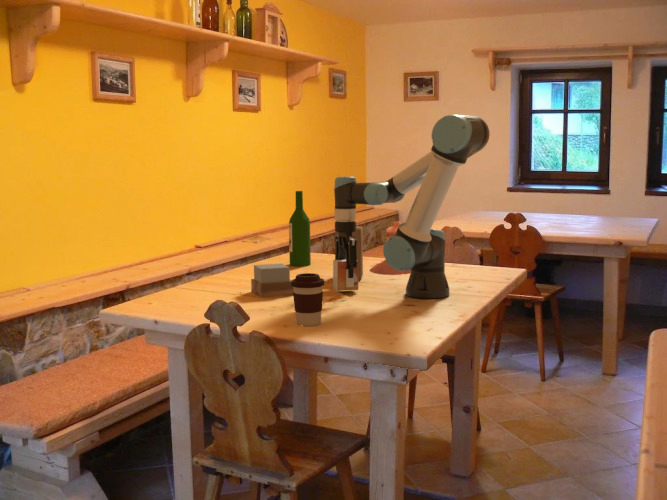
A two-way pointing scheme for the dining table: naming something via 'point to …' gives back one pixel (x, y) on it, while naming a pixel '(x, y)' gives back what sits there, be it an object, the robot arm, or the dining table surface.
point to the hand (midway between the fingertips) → (345, 285)
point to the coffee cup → (308, 298)
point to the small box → (343, 276)
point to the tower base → (271, 289)
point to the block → (358, 248)
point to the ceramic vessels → (383, 266)
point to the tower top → (271, 273)
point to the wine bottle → (299, 235)
